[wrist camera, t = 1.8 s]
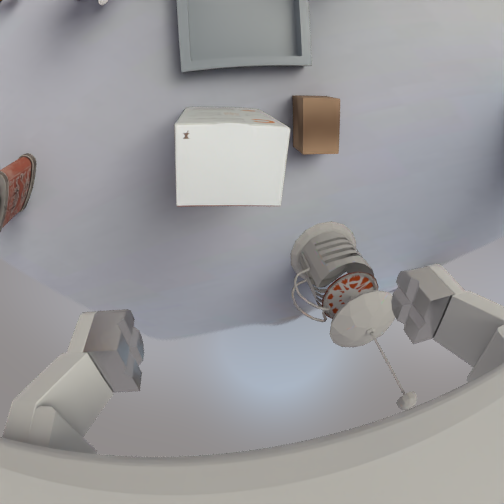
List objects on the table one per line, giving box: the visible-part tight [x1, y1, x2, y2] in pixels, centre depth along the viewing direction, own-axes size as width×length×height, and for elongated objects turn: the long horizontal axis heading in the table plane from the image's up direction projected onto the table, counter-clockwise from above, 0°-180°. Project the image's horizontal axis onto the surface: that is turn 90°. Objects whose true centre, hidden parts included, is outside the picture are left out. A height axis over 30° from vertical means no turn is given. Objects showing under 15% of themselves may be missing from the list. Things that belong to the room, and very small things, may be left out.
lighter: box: [0, 153, 36, 232], centre depth 26 cm, size 8×3×10 cm, turn 147°
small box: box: [174, 107, 290, 206], centre depth 26 cm, size 8×6×13 cm
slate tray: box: [177, 0, 312, 73], centre depth 24 cm, size 13×13×2 cm
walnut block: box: [293, 96, 340, 154], centre depth 31 cm, size 6×4×4 cm, turn 2°
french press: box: [291, 222, 417, 410], centre depth 32 cm, size 10×12×25 cm
